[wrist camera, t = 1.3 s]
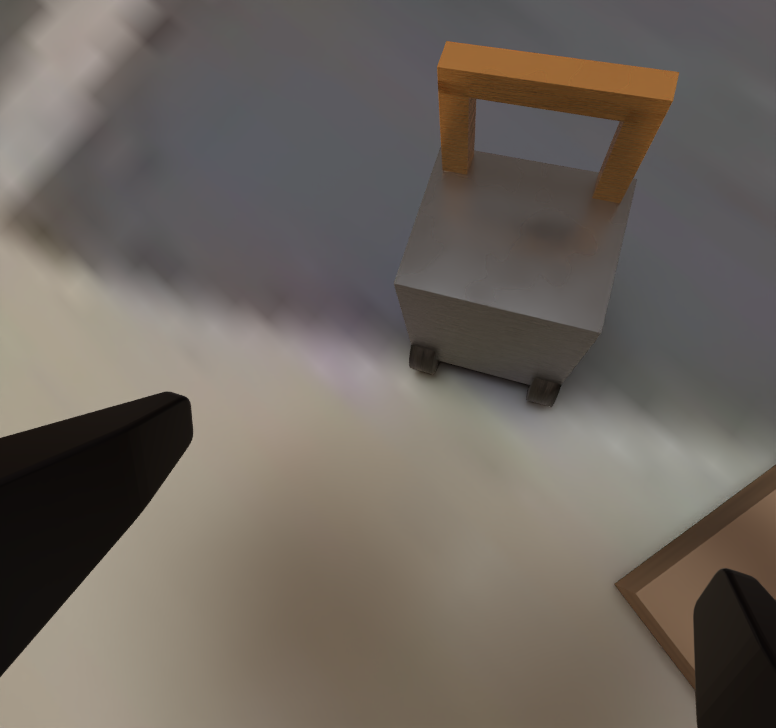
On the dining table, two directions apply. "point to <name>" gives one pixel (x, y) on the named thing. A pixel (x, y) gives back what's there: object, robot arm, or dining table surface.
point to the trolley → (523, 219)
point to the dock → (705, 566)
